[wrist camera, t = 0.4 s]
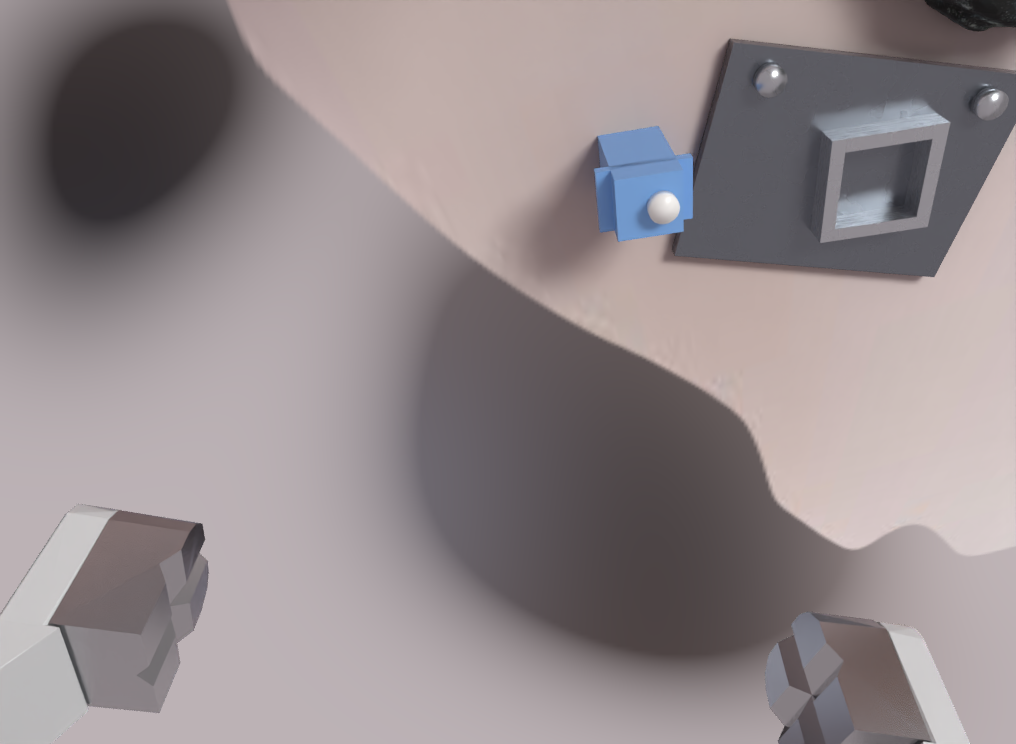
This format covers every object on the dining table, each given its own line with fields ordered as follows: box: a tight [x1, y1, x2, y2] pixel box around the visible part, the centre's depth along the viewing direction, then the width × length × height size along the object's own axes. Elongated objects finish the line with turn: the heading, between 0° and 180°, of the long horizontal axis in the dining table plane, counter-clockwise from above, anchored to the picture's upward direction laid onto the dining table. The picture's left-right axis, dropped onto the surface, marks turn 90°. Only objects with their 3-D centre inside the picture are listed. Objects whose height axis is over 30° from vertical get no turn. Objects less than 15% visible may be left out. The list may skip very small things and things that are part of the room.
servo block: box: [594, 126, 693, 242], centre depth 51 cm, size 4×6×9 cm
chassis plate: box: [672, 39, 1016, 277], centre depth 55 cm, size 16×22×3 cm
